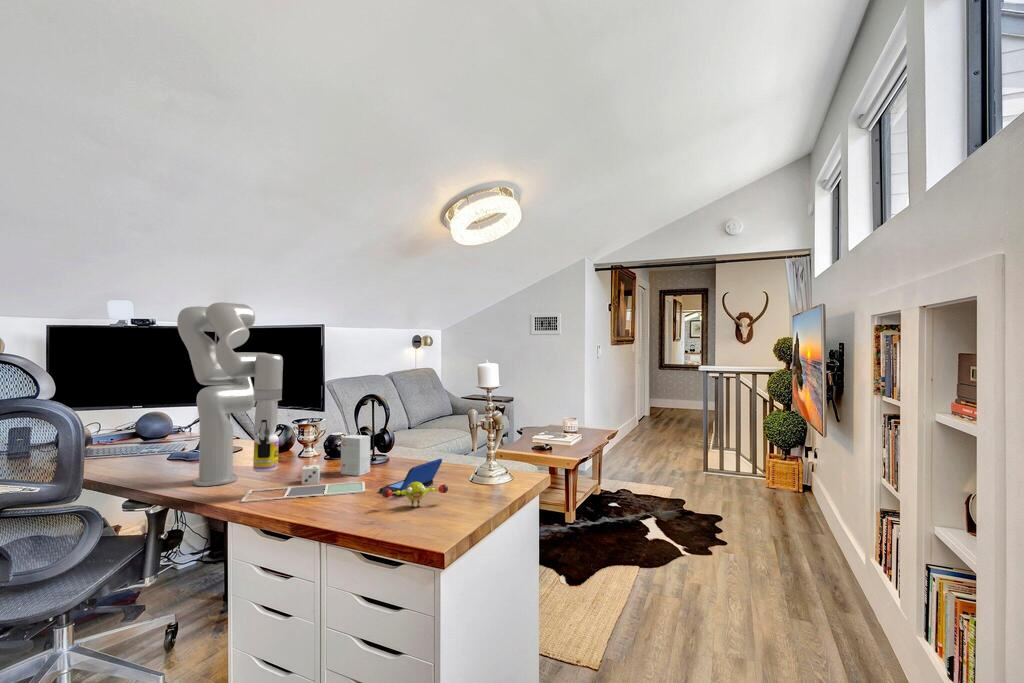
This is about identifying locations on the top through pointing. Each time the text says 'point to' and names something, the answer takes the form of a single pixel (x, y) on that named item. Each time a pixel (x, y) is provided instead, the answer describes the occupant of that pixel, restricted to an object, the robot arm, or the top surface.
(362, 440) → the small box
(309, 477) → the die
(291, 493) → the board
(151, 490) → the top surface
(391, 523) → the top surface
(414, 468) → the handheld game console
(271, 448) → the supplement bottle
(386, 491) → the toy figure
